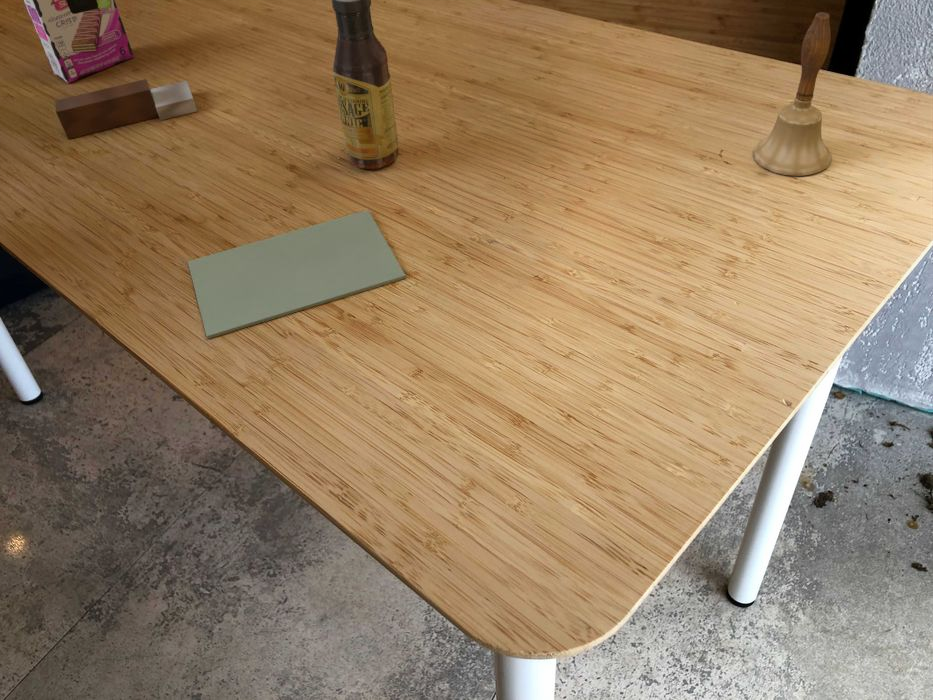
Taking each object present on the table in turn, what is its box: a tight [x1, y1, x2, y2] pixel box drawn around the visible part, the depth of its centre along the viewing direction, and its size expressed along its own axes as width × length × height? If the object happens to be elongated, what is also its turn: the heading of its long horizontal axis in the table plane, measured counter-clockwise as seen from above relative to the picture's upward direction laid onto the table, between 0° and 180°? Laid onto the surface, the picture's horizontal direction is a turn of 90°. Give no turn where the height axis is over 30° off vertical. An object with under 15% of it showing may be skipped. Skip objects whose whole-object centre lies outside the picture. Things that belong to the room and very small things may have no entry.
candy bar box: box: [23, 0, 135, 84], centre depth 123 cm, size 11×5×16 cm, turn 135°
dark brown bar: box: [54, 78, 198, 140], centre depth 114 cm, size 17×6×4 cm, turn 112°
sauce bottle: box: [331, 0, 399, 171], centre depth 95 cm, size 7×6×20 cm
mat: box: [187, 209, 407, 340], centre depth 87 cm, size 20×13×1 cm, turn 112°
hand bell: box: [752, 11, 833, 177], centre depth 90 cm, size 8×8×16 cm
